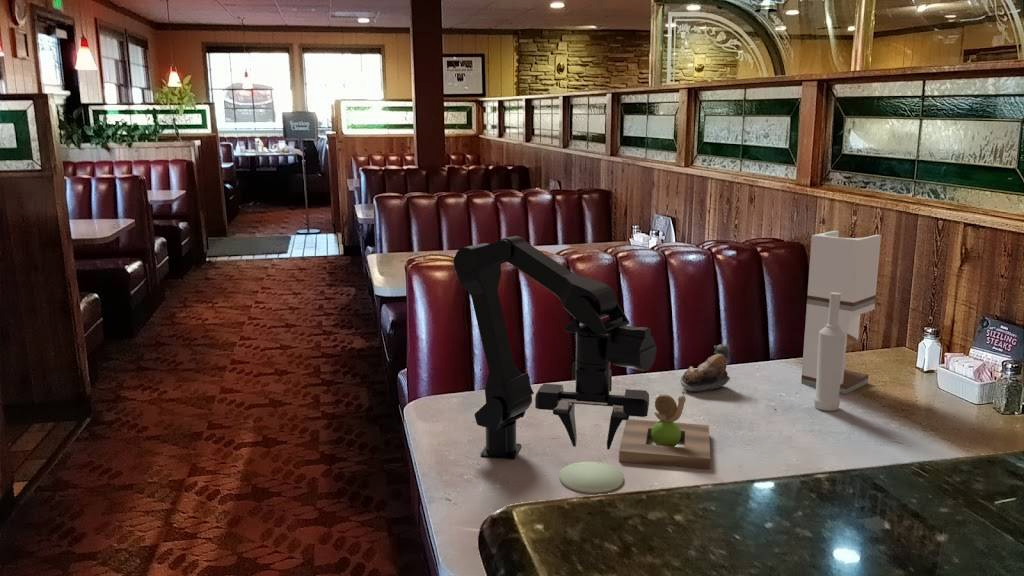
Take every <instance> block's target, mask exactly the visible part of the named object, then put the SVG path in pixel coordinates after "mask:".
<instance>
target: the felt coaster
mask: <svg viewBox="0 0 1024 576" xmlns="http://www.w3.org/2000/svg"><path fill="white" fill-rule="evenodd" d="M624 480H625V479H624V474H623V472H622V471H621V469H619V468H618V467H616V466H613V465H611V464H608V463H604V462H599V461H580V462H579V461H578V462H575V463H571V464H568V465H566V466H564V467H562V469H561V470H560V471H559V481H560V483H561V484H562V485H563V486H564V487H566V488H568V489H570V490H573V491H576V492H580V493H586V494H587V493H588V494H601V493H602V494H604V493H607V492H612V491H614V490H617V489H618V488H621V486H622V485H623V484H624Z"/></svg>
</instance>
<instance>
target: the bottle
mask: <svg viewBox="0 0 1024 576" xmlns="http://www.w3.org/2000/svg"><path fill="white" fill-rule="evenodd" d="M840 296H841V293H836V292H831V293H830V301H829V302H830V305H829V317H828V324H826V327H825V328H823V329H822V330H820V331H819V344H818V362H817V380H816V387H815V396H814V397H813V404H814V407H815V408H816V409H818V410H820V411H827V412H833V411H837V410H838V409H839V407H840V404H841V403H840V402H841V401H840V393H839V390H840V381H841V372H842V362H843V353H844V344H845V333H844V332H843V331H842V330H841V329H840V325H838V318H839V305H840Z"/></svg>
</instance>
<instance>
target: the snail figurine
mask: <svg viewBox="0 0 1024 576" xmlns="http://www.w3.org/2000/svg"><path fill="white" fill-rule="evenodd" d="M687 391H688V390H687V389H684V390H682V392H681V393H682V394H683V395H680V396H678V398H677V402H678V403H677V402H676V400H675V399H674V398H673V397H672V396H671V395H668V394H665V393H664V394H659V395H658V396H657V397H656V398H655V400H654V407H655V410H656V411H655V412H654V415H655V417H656V418H657V419H658V422H657V423H656V424H655V425H654V426H653V428H652V432H651V435H652V438H651V439H652V441H653V443H654V445H660V446H672V447H677V445H678V444H679V443H680V441H681V440H680V438H681V432H680V428H679V427H678V425H677V424H676V423H677V422H676V421H678V420H679V419H680V418H681V416H682V414H683V410H684V406H685V403H686V400H687V399H686V396H685V395H686V393H687Z"/></svg>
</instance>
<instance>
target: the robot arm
mask: <svg viewBox="0 0 1024 576" xmlns="http://www.w3.org/2000/svg"><path fill="white" fill-rule="evenodd" d="M506 263H508V264H510V265H512V266H513V267H514V268H516V269H517V270H518V271H520V272H522V273H523V274H525V275H526V276H527V277H529V278H531V279H532V280H534V281H535V282H536V283H538V284H539V285H541V286H542V287H544V288H545V289H547V290H548V291H550V292H551V293H552V294H554V295H555V296H556V297H557V298H558V299H559V301H560V303H561V305H562V307H563V308H564V309H565V310H566V311H567V312H568V313H569V314H570V316H572V318H573V319H572V321H570V323H569V324H568V325H566V326H564V331H565V332H566V333H568V332H569V333H573V334H575V362H573V361H572V368H571V381H575V392H574V391H564V385H563V384H555V383H543V384H542V385H541V386H540V387H539V389H538V391H536V394H534V393H535V392H534V390H533V388H532V386H531V380H530V379H531V377H530V375H529V373H528V372H525V373H521V371H520V370H519V369H518V368H517V366H516V364H515V361H514V357H513V352H512V348H511V343H510V338H509V335H508V331H507V325H506V321H505V318H504V313H503V309H502V304H501V300H500V295H499V286H500V280H501V276H502V265H503V264H506ZM453 267H454V270H455V272H456V275H457V278H458V281H459V284H460V285H461V286H462V288H464V290H465V291H466V292H467V294H469V295H470V297H471V300H472V305H473V311H474V314H475V318H476V322H477V327H478V332H479V335H480V340H481V344H482V349H483V353H484V354H483V355H484V357H485V363H486V366H487V370H488V371H487V372H488V374H487V378H486V382H485V387H484V397H485V404H483V406H481V407H480V408H479V409H478V410H477V411H476V412H475V413H474V419H475V422H476V425H477V426H478V427H479V426H480V427H482V428H485V446H484V448H483V449H482V451H481V453H480V458H489V459H490V458H491V459H500V460H501V459H502V460H515V459H516V457H517V455H518V453H519V452H520V450H521V448H522V444H521V443H517V420H519V419H521V418H524V417H525V415H526V412H527V410H528V409H529V408H530V406H531V404H532V402H533V395H535V396H534V397H535V399H534V400H535V401H534V402H535V403H534V405H535V406H534V408H535V409H537V410H543V411H544V410H549V411H552V415H555V416H558V418H559V419H560V420H561V423H562V424H563V426H564V427H565V430H566V432H567V435H568V436H569V439H570V442H571V445H572V447H576V446H577V439H578V438H577V424H576V415H575V405H576V404H577V405H589V406H590V405H591V406H600V407H601V406H602V407H612V412H611V414H610V419H609V426H608V432H607V440H606V450H610V449H611V446H612V444H613V441H614V438H615V435H616V433H617V430H618V429H619V427H620V425H621V424H622V422H623V421H626V420H628V419H630V417H639V418H646V417H647V416H648V413H649V407H650V394H649V393H648V391H647V390H646V389H645V390H643V389H631V388H629V389H627V388H626V389H625V392H624V395H621V394H610V392H611V391H612V389H613V388H612V384H613V381H612V379H613V376H612V370H611V364H612V365H613V366H618V367H623V368H629V369H633V370H638V371H644V372H648V371H649V370H650V369H651V368H652V367H653V365H654V362H655V361H656V356H657V345H656V342H655V339H654V337H653V336H652V335H651V328H649V327H647V326H645V327H644V326H640V327H638V326H632V325H630V321H629V319H628V317H627V315H626V314H625V312H624V311H623V309H622V307H621V306H620V304H619V302H618V300H617V296H616V292H615V290H614V289H613V288H612V287H611V286H610V285H608V284H606V283H604V282H601V281H600V280H596V279H595V278H591V277H587V276H583V275H579V274H577V273H574V272H572V271H571V270H569V269H568V268H566V267H565V266H563V265H562V264H560V263H559V262H557V261H556V260H554V259H553V258H551V257H550V256H548V255H547V254H545V253H544V252H542V251H540V250H539V249H537V248H536V247H534V246H533V245H531V244H530V243H529V242H527V241H526V239H525V238H524V237H521V236H519V235H514V236H510V237H508V236H507V237H504V238H501V239H499V240H497V241H495V242H492V243H487V242H486V243H485V242H484V243H478V244H473V245H468V246H464V247H461V248H459V249H458V250H457V251H456V253H455V255H454V257H453ZM608 317H609V318H610V319H607V320H604V319H605V318H608ZM603 320H604V321H603ZM611 393H612V392H611Z"/></svg>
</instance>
